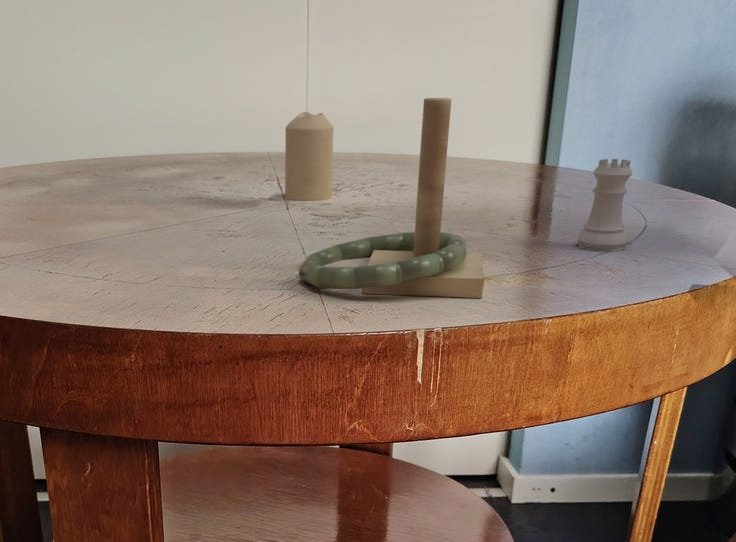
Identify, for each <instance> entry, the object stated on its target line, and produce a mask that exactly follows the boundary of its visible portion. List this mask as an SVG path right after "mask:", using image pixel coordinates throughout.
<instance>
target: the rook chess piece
mask: <svg viewBox="0 0 736 542" xmlns="http://www.w3.org/2000/svg"><path fill="white" fill-rule="evenodd" d="M618 162H619V158H611V162H610V163H609V159H608V158H602V159H599V161H598V166H597V167H596V168H595V169H594V170H593V171H592V174H593V175H594V177H595V179H596V185H595V187H594V188H593V189H592V192H593V193H594V196H593V202H592V206H591V210H590V213H589V216H588V219H587V221H586V223H585V224H584V225H583V229H582V230H581V231H580V232H579V233H578V234H577V236H576V240H577V242H578V245H577V247H578V248H580V249H583V250H586V251H593V252H619V251H622V250H624V246H625V245H626V244H627V243H628V235H627V234H626V232H625V226H624V225H623V202H624V196H625V195H626V193H627V192H628V190H627V189H626V183H627V181H628V180H629V179H630V178H631V177H632V175H633V174H634V173H633V171H632V169H631V167H630V164H631V160H628V159H621V161H620V163H618Z"/></svg>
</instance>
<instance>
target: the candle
mask: <svg viewBox="0 0 736 542" xmlns="http://www.w3.org/2000/svg"><path fill="white" fill-rule="evenodd" d="M284 151H285V152H284V153H285V157H284V158H285V160H284V163H285V165H284V166H285V167H284V168H285V171H284V178H285V179H284V181H285V182H284V193H285V194H284V199H286V200H289V201H294V202H321V201H328V200H330V199H332V193H333V191H332V190H333V189H332V188H333V159H334V156H333V154H334V126H333V124H332V123H331V122H330V121H329V119H327V117H326V116H325V114H324V113H323V112H320V113H318V114H312V113H311V112H308V111H304V112H300V113H298V114H297V116H295V117H294V118H293V119H292V120H291V121H290V122H289V123H288V124H287V125H286V126H285V149H284Z"/></svg>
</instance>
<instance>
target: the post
mask: <svg viewBox="0 0 736 542" xmlns="http://www.w3.org/2000/svg"><path fill="white" fill-rule="evenodd" d="M451 109H452V98H448V97H427V98H424V99H423V107H422V121H421V134H420V150H419V164H418V177H417V195H416V206H415V207H416V208H415V219H414V220H415V221H414V232H415V234H414V248H413V251H388V250H374V251H373V253H372V255H371V256H370V257H369V260H368V262H367V265H366V266H369V265H377V264H385V263H393V262H398V261H402V260H407V259H411V258H415V257H419V256H423V255H427V254H431V253H434V252H436V251H438V250H439V244H440V232H442V230H441V229H442V219H443V218H442V217H443V206H444V194H445V193H444V192H445V184H446V183H445V182H446V170H447V158H448V147H449V135H450V134H449V133H450V122H451V120H450V119H451ZM484 281H485V275H484V264H483V254H482V253H478V252H466V258H465V259H464V261H463V262H461V263H460V264H458V265H456V266H454V267H452V268H450V269H448V270H446V271H443V272H441V273H439V274H437V275H433V276H429V277H425V278H421V279H417V280H413V281H409V282H405V283H401V284H395V285H386V286H378V287H370V288H362V294H365V295H367V294H369V295H392V296H394V295H395V296H417V297H418V296H419V297H441V298H442V297H444V298H462V299H463V298H464V299H465V298H466V299H482V298H483V292H484Z"/></svg>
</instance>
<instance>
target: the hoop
mask: <svg viewBox="0 0 736 542" xmlns="http://www.w3.org/2000/svg"><path fill="white" fill-rule="evenodd" d="M414 234H415V231H411V232H410V231H408V232H406V231H405V232H397V233H391V234H390V233H389V234H384V235H378V236H377V235H376V236H368V237H363V238H360V239H357V240H356V239H355V240H351V241H346V242H343V243H338V244H334V245H331V246H328V247H326V248H324V249H321V250H319V251H317V252H314V253H311V254H309V255H308V256H307V257H306V258H305V259H304V261H303V262H302V264H301V265H300V267H299V269H298V275H299V276H298V277H299V278H300V279H301V281H303V283H304V282H305V283H307V284H308V285H312V286H314V287H317V288H319V289H326V290H327V289H328V290H329V289H330V290H331V289H332V290H335V289H336V290H359V289H363V288H370V287H378V286H386V285H395V284H401V283H405V282H409V281H413V280H417V279H421V278H425V277H429V276H433V275H437V274H439V273H441V272H443V271H446V270H448V269H450V268H452V267H454V266H456V265H458V264H460V263H461V262H463V261H464V259H465V258H466V253H467V241H466V240H465V237H463V236H461V235H459V234H454V233H448V232H443V231H441V232H440V244H439V250H438V251H436V252H434V253H431V254H427V255H423V256H419V257H415V258H411V259H407V260H402V261H398V262H393V263H385V264H377V265H369V266H367V265H362V266H326V265H330V264H333V263H338V262H339V261H343V260H344V261H345V260H352V259H363V258H370V257H371V255H372V253H373V251H374V250H388V251H413V248H414Z"/></svg>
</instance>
